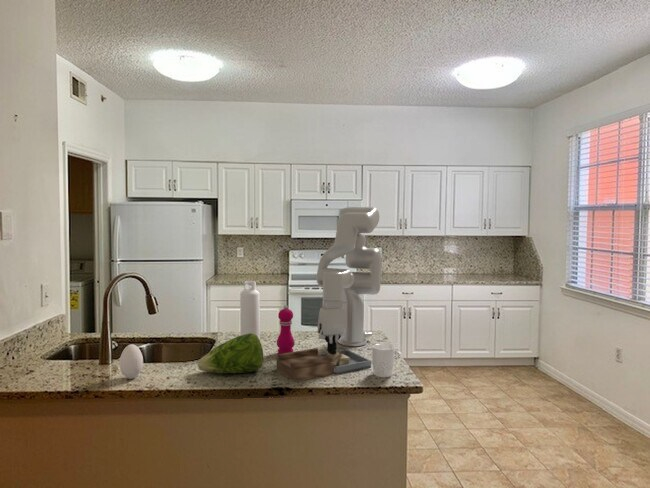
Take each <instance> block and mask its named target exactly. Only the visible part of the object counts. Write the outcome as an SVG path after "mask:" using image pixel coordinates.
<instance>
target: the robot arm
mask: <svg viewBox="0 0 650 488" xmlns="http://www.w3.org/2000/svg"><path fill="white" fill-rule="evenodd" d="M339 211H340V212H339V218H338V222H337V226H336V232H335V237H334V243H333V245H331V246H330V247H329V248H328V249H327V250H326V251H325V252H324V254H323V255H322V256H321V257H320V259H319V261H318V262H319V263H318V267H317V270H316V283H317V285H318V286H320V288H322V307H320V309H319V312H318V318H317V319H318V320H317V334H319V335H318V338H319V339H320V340H325V342H327V346H326V348H327V353H330V354H336V351H337V343H339V345H343V346H347V347H361V346H365V345H367V343H368V342H367V341H368V340H367V339H366V338H369V337H372V336H373V332H372V331H371V332H367V331H364V327H365V326H364V322H365V320H364V317H365V316H364V315H365V313H364V312H365V304H364V300H363V299H362V297H361V296H360V295H370V296H371V295H373V296H374V295H378V293H380V290H381V281H382V262H383V261H382V253H381V250H379V249H378V248H375V247H366V242H367V241H366V235H365V234H371V233H372V232H373V231H374V230H375V229H376V227H377V226H378V225H379V222H380V212H379V210H378V208H376V207H373V206H372V207H371V206H348V207H343V208H342V209H341V210H339ZM343 256H345V266H346V267H348V268H349V269H347V268H333V267H331V268H330V267H329V266H330V264H331V263H332V262H333V261H334V260H336V259H338V258H341V257H343ZM328 267H329V268H328ZM350 269H354V270H369V272H368V271H367V272H363V271H362V272H361V271H352V270H350Z"/></svg>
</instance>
